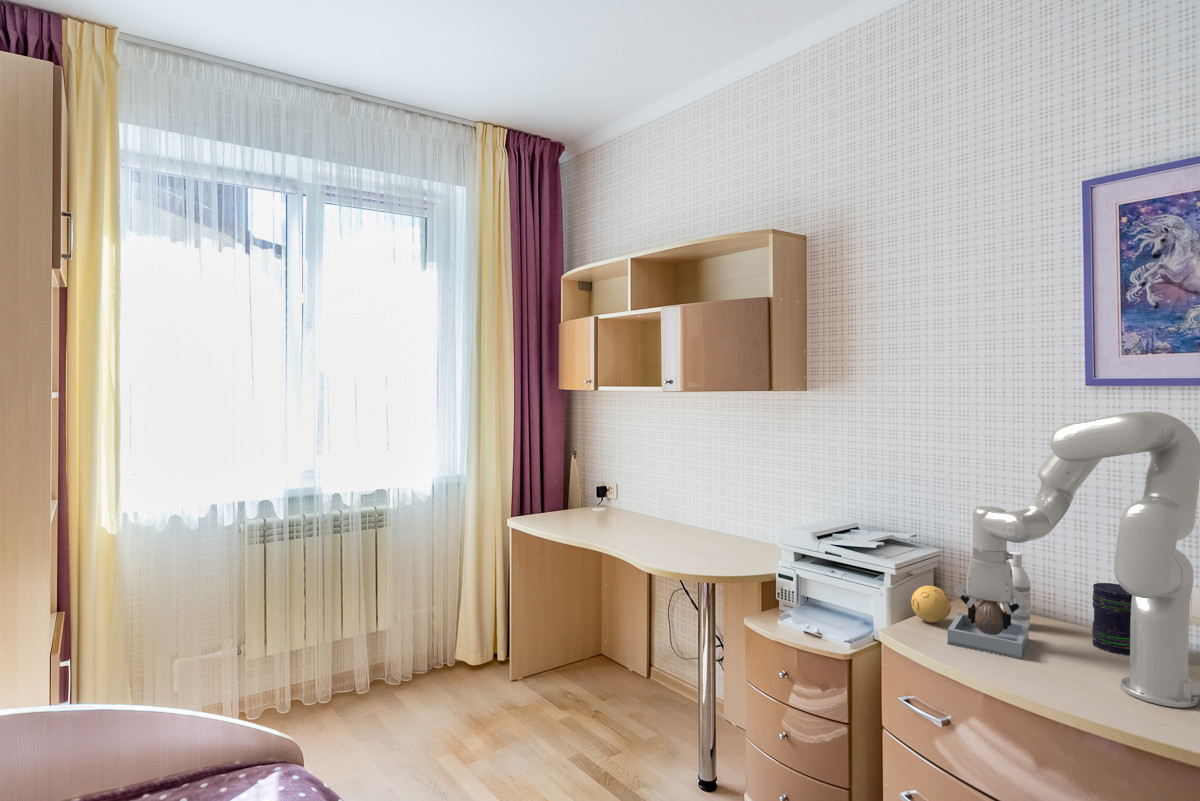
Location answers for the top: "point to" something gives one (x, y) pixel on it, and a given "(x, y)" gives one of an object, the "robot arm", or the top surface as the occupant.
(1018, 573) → the bath foam
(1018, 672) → the top surface
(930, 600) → the stress ball
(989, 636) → the bin
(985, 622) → the vase
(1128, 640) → the storage jar
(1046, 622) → the top surface
